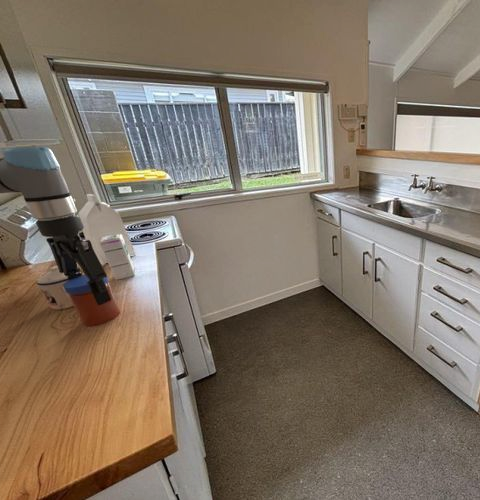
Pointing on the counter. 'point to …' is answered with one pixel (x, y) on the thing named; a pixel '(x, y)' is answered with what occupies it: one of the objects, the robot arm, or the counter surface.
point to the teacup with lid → (55, 289)
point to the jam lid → (79, 285)
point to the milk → (102, 225)
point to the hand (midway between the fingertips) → (94, 299)
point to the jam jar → (94, 308)
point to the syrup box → (117, 256)
